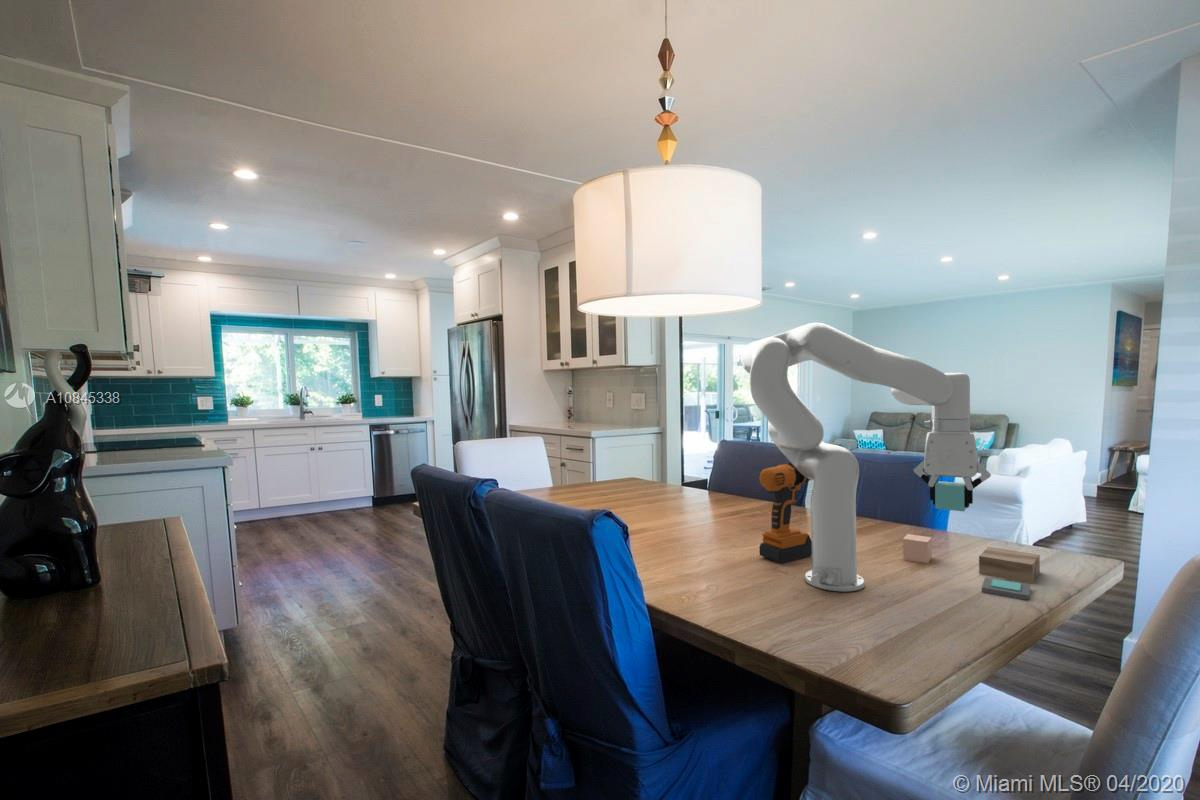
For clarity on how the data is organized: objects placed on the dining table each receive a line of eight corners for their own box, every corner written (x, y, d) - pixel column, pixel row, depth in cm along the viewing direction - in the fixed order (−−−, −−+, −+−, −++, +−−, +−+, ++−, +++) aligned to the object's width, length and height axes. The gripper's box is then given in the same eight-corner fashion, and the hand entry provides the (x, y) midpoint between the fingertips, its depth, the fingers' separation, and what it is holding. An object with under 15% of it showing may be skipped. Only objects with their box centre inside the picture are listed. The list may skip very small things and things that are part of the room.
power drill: (807, 545, 155) (805, 457, 155) (830, 551, 149) (828, 460, 149) (753, 559, 144) (751, 464, 144) (776, 566, 138) (774, 467, 137)
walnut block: (1032, 584, 122) (1032, 564, 122) (979, 574, 129) (979, 555, 129) (1039, 573, 129) (1039, 554, 129) (988, 564, 136) (988, 546, 136)
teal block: (963, 511, 122) (963, 486, 122) (935, 508, 125) (935, 484, 125) (966, 507, 126) (966, 483, 126) (938, 504, 130) (938, 481, 130)
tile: (1029, 600, 112) (1029, 594, 112) (981, 592, 118) (981, 586, 118) (1030, 588, 119) (1029, 582, 119) (985, 581, 124) (985, 575, 124)
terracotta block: (928, 563, 137) (927, 542, 137) (903, 559, 141) (903, 538, 141) (931, 558, 141) (931, 537, 141) (907, 554, 145) (907, 534, 145)
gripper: (905, 426, 128) (905, 503, 128) (995, 428, 117) (995, 512, 117) (911, 424, 134) (911, 498, 134) (997, 426, 123) (998, 506, 123)
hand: (951, 504), depth 126 cm, fingers closed on teal block, 5 cm apart
